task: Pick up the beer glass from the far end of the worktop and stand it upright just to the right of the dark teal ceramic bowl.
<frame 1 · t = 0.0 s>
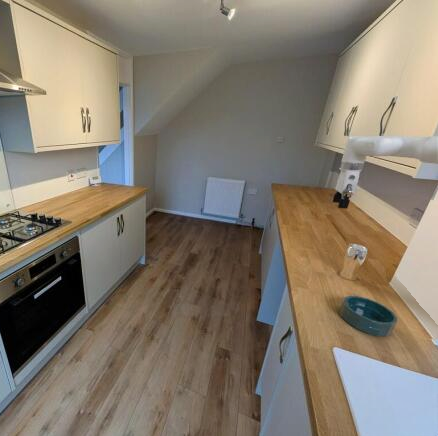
hand: (339, 205, 106), 31 cm above the counter, tool pointing down, fingers open, 9 cm apart
beer glass: (347, 276, 108), on the counter
bowl: (363, 321, 82), on the counter
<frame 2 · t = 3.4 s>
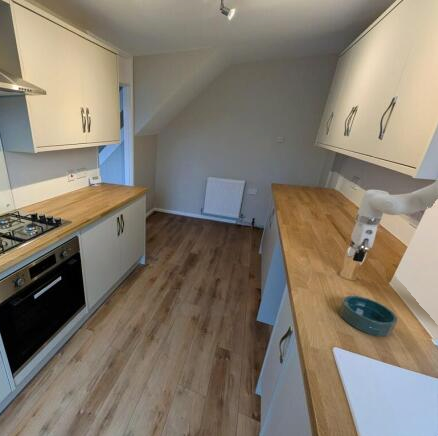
hand: (354, 256, 105), 10 cm above the counter, tool pointing down, fingers closed on beer glass, 7 cm apart
beer glass: (347, 276, 108), on the counter, touching gripper
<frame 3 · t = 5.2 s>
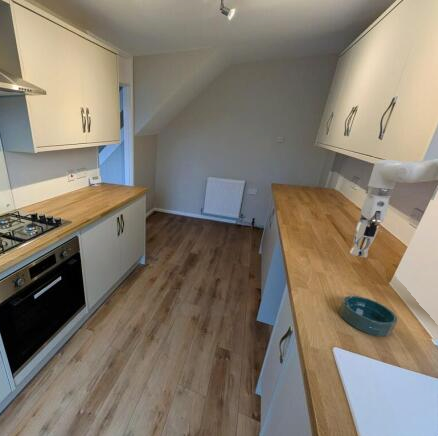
hand: (365, 232, 100), 22 cm above the counter, tool pointing down, fingers closed on beer glass, 7 cm apart
beer glass: (357, 254, 103), point 12 cm above the counter, touching gripper
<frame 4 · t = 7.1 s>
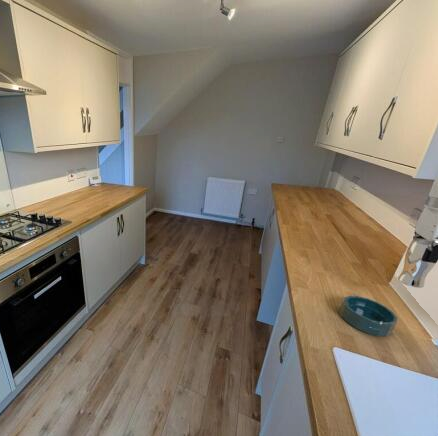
hand: (421, 256, 77), 24 cm above the counter, tool pointing down, fingers closed on beer glass, 7 cm apart
beer glass: (409, 283, 80), point 14 cm above the counter, touching gripper
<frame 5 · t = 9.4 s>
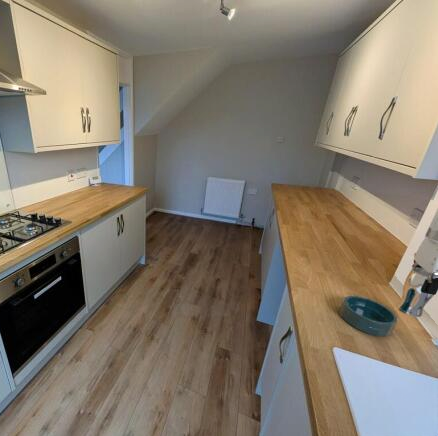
hand: (420, 285, 77), 15 cm above the counter, tool pointing down, fingers closed on beer glass, 7 cm apart
beer glass: (407, 311, 80), point 5 cm above the counter, touching gripper
when the fingers open (10 cm above the counter, at t = 11.3 s): beer glass stays where it is, on the counter.
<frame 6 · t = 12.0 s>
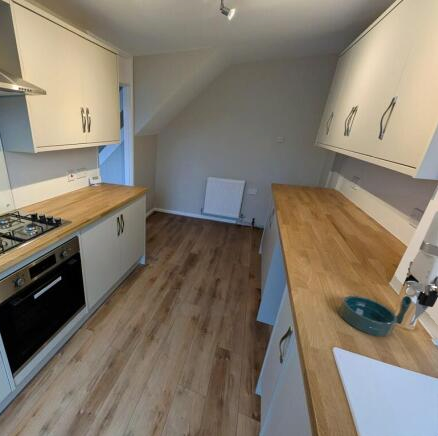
hand: (416, 296, 78), 11 cm above the counter, tool pointing down, fingers open, 9 cm apart
beer glass: (402, 323, 82), on the counter
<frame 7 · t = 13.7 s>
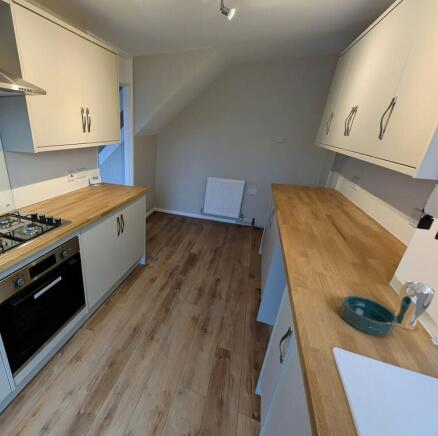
hand: (431, 234, 78), 31 cm above the counter, tool pointing down, fingers open, 9 cm apart
nothing on the counter moved.
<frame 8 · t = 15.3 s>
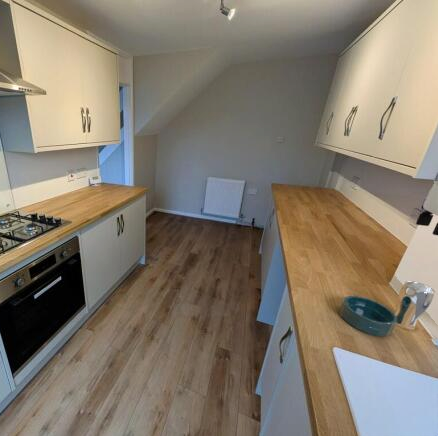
hand: (430, 229, 80), 31 cm above the counter, tool pointing down, fingers open, 9 cm apart
nothing on the counter moved.
at the end: beer glass inside the target area on the counter beside the bowl (0.3 cm from its centre), on the counter; beer glass tilted 0°; the gripper is holding nothing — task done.
